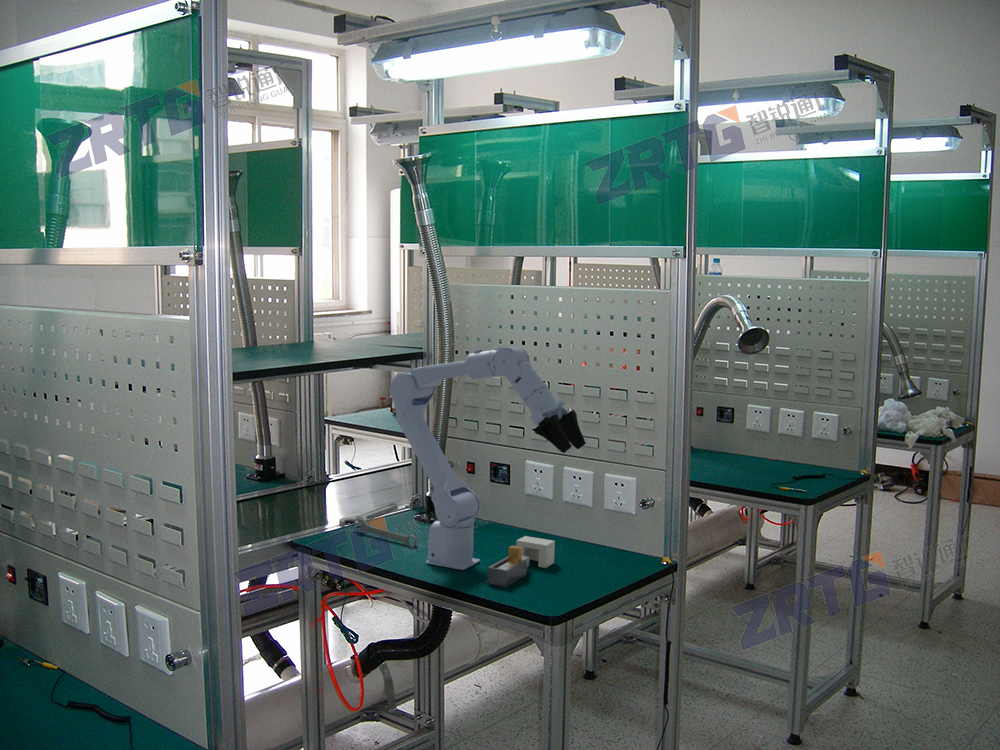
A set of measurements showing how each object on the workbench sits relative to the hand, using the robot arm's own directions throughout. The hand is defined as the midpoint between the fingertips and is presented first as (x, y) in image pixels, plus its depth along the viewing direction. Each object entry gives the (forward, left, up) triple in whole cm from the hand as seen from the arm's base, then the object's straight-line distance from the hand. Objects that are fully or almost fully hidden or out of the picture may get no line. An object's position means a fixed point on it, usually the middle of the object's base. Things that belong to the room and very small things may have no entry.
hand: (574, 448), depth 185 cm
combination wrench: (-51, +9, -29) cm, 60 cm away
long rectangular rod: (-13, 0, -28) cm, 31 cm away
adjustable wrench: (-65, +25, -29) cm, 76 cm away
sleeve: (-13, -2, -29) cm, 31 cm away
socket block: (-13, +12, -29) cm, 34 cm away
